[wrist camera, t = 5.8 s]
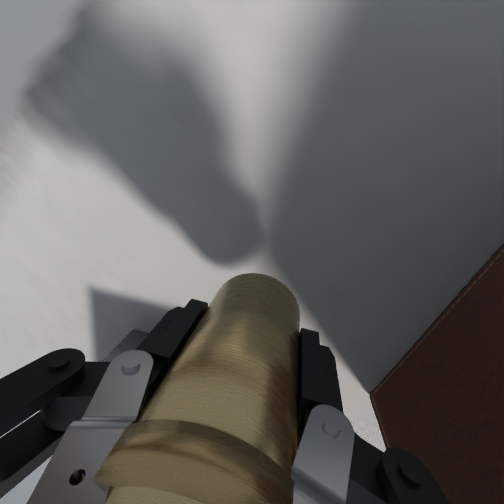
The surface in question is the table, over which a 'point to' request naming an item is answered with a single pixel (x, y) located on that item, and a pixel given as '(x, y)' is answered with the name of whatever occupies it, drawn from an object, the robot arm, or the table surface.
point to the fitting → (219, 409)
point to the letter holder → (454, 394)
